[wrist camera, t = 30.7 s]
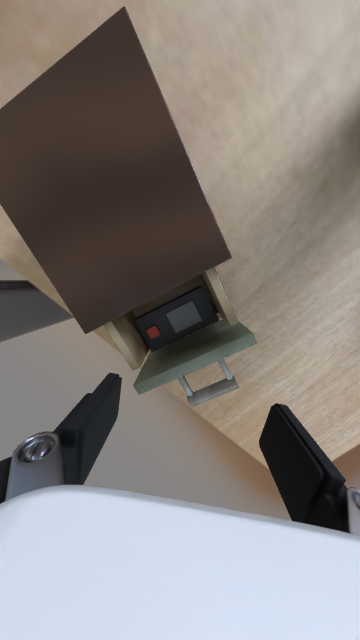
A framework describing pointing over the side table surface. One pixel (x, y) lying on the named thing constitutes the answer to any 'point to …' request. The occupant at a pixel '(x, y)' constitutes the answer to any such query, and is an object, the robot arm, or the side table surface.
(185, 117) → the side table surface
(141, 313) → the drawer
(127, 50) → the cabinet
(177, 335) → the remote
